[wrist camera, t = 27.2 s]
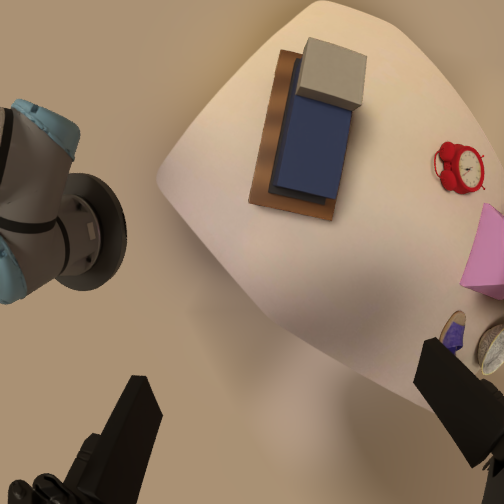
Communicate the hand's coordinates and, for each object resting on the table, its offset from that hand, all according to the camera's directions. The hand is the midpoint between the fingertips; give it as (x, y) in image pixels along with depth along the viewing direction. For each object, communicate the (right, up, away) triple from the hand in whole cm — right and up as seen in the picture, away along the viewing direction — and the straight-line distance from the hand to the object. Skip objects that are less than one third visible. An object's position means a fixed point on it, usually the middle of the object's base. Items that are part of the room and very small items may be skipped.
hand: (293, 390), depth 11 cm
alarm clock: (+39, +23, +31) cm, 55 cm away
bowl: (+66, -19, +42) cm, 80 cm away
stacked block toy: (+6, +23, +23) cm, 33 cm away
